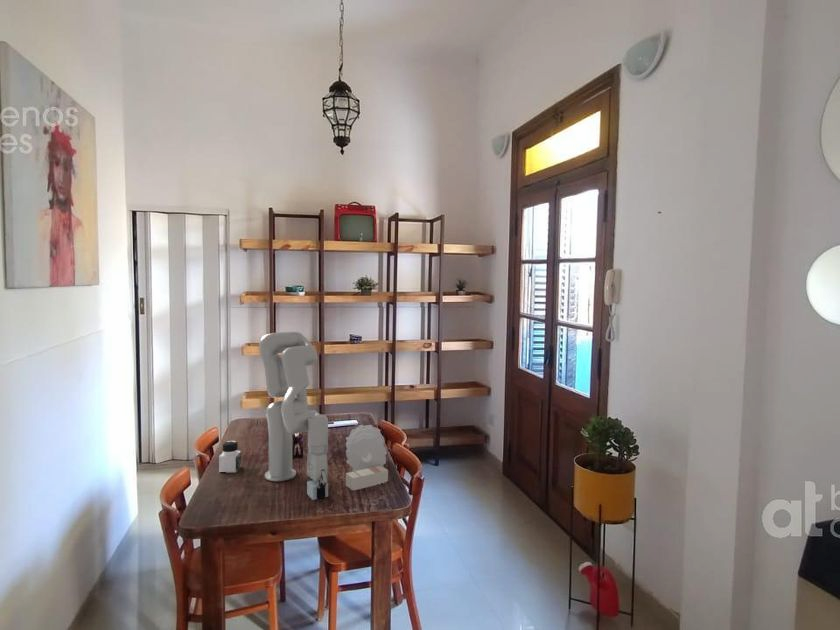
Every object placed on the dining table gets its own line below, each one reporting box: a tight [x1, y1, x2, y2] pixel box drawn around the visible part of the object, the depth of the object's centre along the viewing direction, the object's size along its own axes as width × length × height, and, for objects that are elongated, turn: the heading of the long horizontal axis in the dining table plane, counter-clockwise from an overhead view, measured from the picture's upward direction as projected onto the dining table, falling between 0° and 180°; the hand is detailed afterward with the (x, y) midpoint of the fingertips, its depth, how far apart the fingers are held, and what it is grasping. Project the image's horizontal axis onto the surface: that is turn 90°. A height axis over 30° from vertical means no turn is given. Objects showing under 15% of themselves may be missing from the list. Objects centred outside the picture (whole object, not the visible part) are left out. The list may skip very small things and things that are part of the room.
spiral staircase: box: [345, 424, 388, 472], centre depth 216 cm, size 18×18×25 cm
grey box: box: [306, 478, 329, 501], centre depth 187 cm, size 6×6×5 cm
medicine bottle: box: [218, 440, 242, 473], centre depth 211 cm, size 7×7×12 cm
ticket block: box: [345, 466, 389, 491], centre depth 199 cm, size 6×16×5 cm, turn 124°
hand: (317, 494), depth 188 cm, fingers closed on grey box, 6 cm apart
